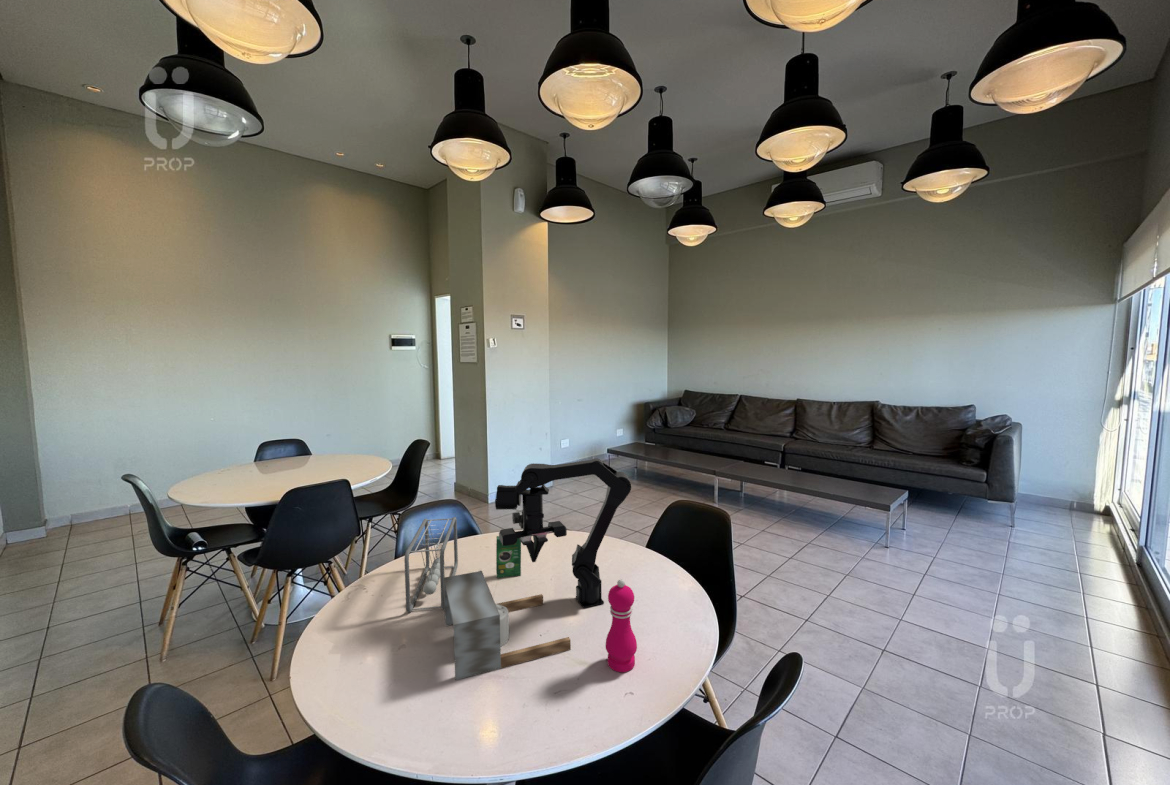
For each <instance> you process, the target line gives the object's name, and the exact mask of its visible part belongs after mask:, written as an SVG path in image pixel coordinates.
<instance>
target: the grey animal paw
mask: <svg viewBox="0 0 1170 785" xmlns="http://www.w3.org/2000/svg"><path fill="white" fill-rule="evenodd" d="M495 604H496V607H497V609H498V612H499V614H500V649H501V648H503V646H505V645H506V644H507V642H508V641H509V640H508V639H510V632H509V631H510V628H509V627H510V624H509V622H510V621H509V620H510V619H509V612H508V609H507V608H506V607H504V606H502V605H499V604H498V603H495Z"/></svg>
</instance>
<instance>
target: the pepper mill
mask: <svg viewBox="0 0 1170 785" xmlns="http://www.w3.org/2000/svg"><path fill="white" fill-rule="evenodd" d="M616 583H617V584H616V585H613V586H612V587H611V588H610V589H609V591H608V593H607V601H608V603H609V605H610V606H609V607H610V608H609V609H610V610H609V612H610V615H611V618H612V619H611V626H610V629H609V631H608V633H607V635H606V639H605V650H606V652H607V653H608V654H607V665H608V667H609V668H610V669H611V670H613V671H614V672H617V673H628V672H630V671H632V670H633V669H634V667H635V665H636V662H635V661H636V658H635V654H636V652H637V651H638V650H637V649H638V643H637V638H636V636H635V633H634V631H633V629H632V625H631V616H632V614H633V607H632V606H634V602H635V593H634V592H633V589H632V588H631V587H630V586H629V585H626V582H625V580H624V579H621V578H619V579H618V580H617V582H616Z"/></svg>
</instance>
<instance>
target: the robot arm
mask: <svg viewBox="0 0 1170 785" xmlns="http://www.w3.org/2000/svg"><path fill="white" fill-rule="evenodd" d="M591 475H592V476H596V477H597V478H598V479H600V481H602V482H603V484H605V485H607V487H606V492H605V493H606V494H605V498H604V501H603V503H602V505H601V508H600V510H599V512H598V514H597V516H596V518H595V521H594V523H593V525H592V528H591V529H590V532H589V533H588V536H587V539H586V540H585V542H584V543H583V544H582V545H580V544H577V545H576V549H575V551H574V553H573V554H571V566H572V575H573V576H574V577H575V579H577V585H576V586H575V599H576V600H577V602H578V604H580V605H581V607H582V608H583V609H587V608H591V607H595V606H600V605H603V604H605V601H604V600H603V598H602V579H601V576H600V566H598V564H596V560H597V554H598V550H599V549H600V546H601V544H602V542H603V540H604V538H605V535H606V533H607V532H608V529H609V527H610V524H611V523H612V520H613V518H614V515H615V514H616V512H617V509H618V508H619V507H620V506H621V504H623V502H625V500H626V499H627V498H628V496H629V494H630V493H631V490H632V483H631V480H630V479H629V476H628V475H627V473H625V472H622V471H617V470H616V469H614V468H613V467H612V466H610V465H608V464H607V463H605V462H604V461H602V459H600V458H598V457H597V458H596V457H594V458H592V459H587V460H586V459H585V460H580V461H572V462H567V463H566V462H565V463H559V464H547V463H529V464H528V465H526V466H525V467H524V469H523V471H522V473H521V476H520V480H518V482H517V483H516V485H504V484H499V485H497V486H496V493H495V494H496V495H495V500H494V505H495V506H494V507H495V510H497V511H499V510H503V511H504V510H508V511H509V510H517V508H518V506H520V507H521V505H522V510H521V514H520V512H519V511H518V512H517V511H516V512H512V516H511V517H512V524H513V525H517V524H518V526H519V527H520V529H523V530H518V531H516V530H515V529H514V528H513V527H511V528H503V529H500V531H499V532H498V536H499V539H500V541H501V543H502V545H503V546H508V545H514V544H515V543H516V542H517V538H519V540H520V541H521V545H523V546H526V549H527V551H528V554H529V557H530V560H531V562H532V563H536V562H537V559H538V557H539V555H540V553H541V550H542V548H543V547H544V545H545V543H547V542H548V541H549V539H548V537H547V535H548V534H553V535H554V536H555V537H556V538H560V537H562V538H563V537H566V536H567V534H568V533H567V532H568V531H567V527H566V525H565V524H563V522H562V521H561V520H556V521H550V522H548V523H547V526H544V518H545V515H544V514H545V513H544V511H543V510H544V508H543V507H544V505H543V503H544V502H543V497H544V496H546V495H548V494H549V492H550V488H548V487H547V486H546V484H549V483H551V482H554V481H558V480H565V479H573V478H580V477H585V476H586V477H587V476H591ZM543 495H544V496H543ZM521 503H522V504H521Z"/></svg>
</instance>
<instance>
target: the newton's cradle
mask: <svg viewBox="0 0 1170 785" xmlns="http://www.w3.org/2000/svg"><path fill="white" fill-rule="evenodd" d="M457 520H458V519H457V517H456V516H453V517H452V518H437V519H435V518H434V519H427V518H424V519H423V520H422V522H421V523H420V526H419V527H418V529H417V531H416V533H415V534H414V537H413V538H412V540H411V542H410V544H409V545H408V547H407V548H406V551H405V553H404V559H403V560H404V582H405V584H404V586H405V588H404V589H405V609H406V612H407V613H408V614H410V613H411V612H413V611H417V610H420V611H421V610H422V611H423V610H430V609H432V610H433V609H440V608H441V610H444V611H445V603H444V578H445V577H446V574H445V569H452V571H451V576H456V575H457V574H456V573H457V568H458V565H459V564H458V563H459V558H458V557H459V556H458V555H459V554H458V552H459V551H458V522H457ZM432 521H433V522H435V521H446V522H445V524H444V527H443V528H442V532H440V533H438V535H439V534H440V537H439V538H437V537H435V538H433V533H432V531H435V530H438V528H435V529H431V526H433V527H434V526H435V524H432V525H430V524H431V523H432ZM449 521H450V524H449V526H448V530H447V532H446V534H445V529H446V528H447V525H448V523H449ZM423 529H424V532H423V534H422V536H421V538H420V539H419V541H418V544H417V545H416V547H415V548H414V546H415V544H416V542H417V540H418V538H419V537H420V535H421V533H422V531H423ZM429 531H430V533H429ZM452 531H453V552H454V553H453V554H454V556H453V557H454V564H453V566H445V550H446V548H447V545H448V542H449V539H450V537H451V534H452ZM430 535H431V538H430ZM444 536H445V537H444ZM443 537H444V538H443ZM423 538H424V539H423ZM435 539H436V540H437V539H438V542H437V543H435V542H434V540H435ZM431 540H432V543H431ZM421 541H422V544H421ZM441 543H442V544H441ZM421 545H423V548H424V549H423V550H422V547H421ZM432 545H433V547H434V549H433V547H432ZM435 546H436V547H435ZM413 548H414V550H413ZM418 548H420V550H418ZM430 548H431V549H430ZM423 552H424V553H425V559H424V555H423ZM430 552H432V556H433V562H432V557H431V553H430ZM434 552H435V554H434ZM411 553H421V557H422V561H423V565H424V571H423V573H422V576H421V578H420V580H419V583H418V585H417V587H416V589H415V592H414V594H413V596H412V599H411V586H410V582H411V580H410V554H411ZM430 561H431V567H430ZM439 581H440V603H441V604H440V606H430V607H428V606H427V607H420V608H419V607H417V608H414V607H415V604H416V601H417V599H418V596H419V595H420V592H421V589H422V591H423V593H424V594H425V595H428V596H429V595H431V596H432V595H433V594H435V592H436V591H437V586H438V584H439ZM424 582H425V583H424ZM422 586H423V587H422Z"/></svg>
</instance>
